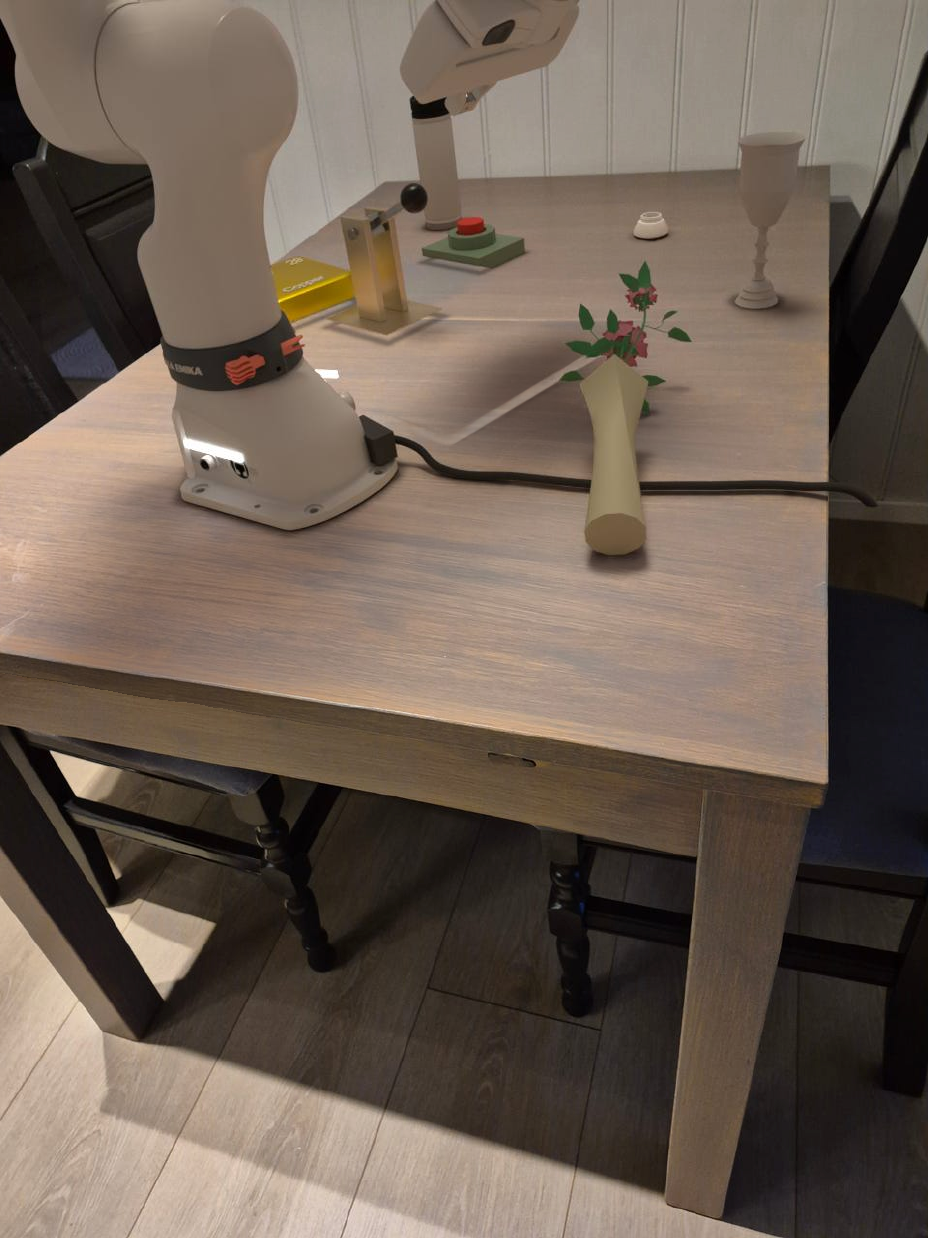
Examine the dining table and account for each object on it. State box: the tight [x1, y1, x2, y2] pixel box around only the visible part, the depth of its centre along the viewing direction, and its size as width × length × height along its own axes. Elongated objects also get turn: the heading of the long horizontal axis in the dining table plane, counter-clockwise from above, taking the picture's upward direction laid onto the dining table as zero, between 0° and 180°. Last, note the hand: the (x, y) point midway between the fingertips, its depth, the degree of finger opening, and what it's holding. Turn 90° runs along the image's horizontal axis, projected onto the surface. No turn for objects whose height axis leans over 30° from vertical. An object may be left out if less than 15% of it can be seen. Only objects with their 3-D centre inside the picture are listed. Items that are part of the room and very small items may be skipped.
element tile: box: [270, 255, 355, 324], centre depth 125 cm, size 15×15×5 cm
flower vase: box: [558, 260, 693, 556], centre depth 82 cm, size 12×12×35 cm
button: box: [457, 216, 485, 236], centre depth 132 cm, size 4×4×2 cm
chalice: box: [734, 131, 807, 310], centre depth 104 cm, size 7×7×18 cm
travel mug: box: [409, 95, 463, 232], centre depth 145 cm, size 6×7×20 cm
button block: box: [421, 223, 526, 269], centre depth 134 cm, size 12×10×4 cm
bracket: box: [326, 205, 443, 337], centre depth 114 cm, size 12×10×14 cm
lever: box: [364, 182, 428, 239], centre depth 107 cm, size 13×3×3 cm, turn 46°
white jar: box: [633, 211, 669, 240], centre depth 133 cm, size 5×3×5 cm
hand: (458, 107), depth 92 cm, fingers closed
